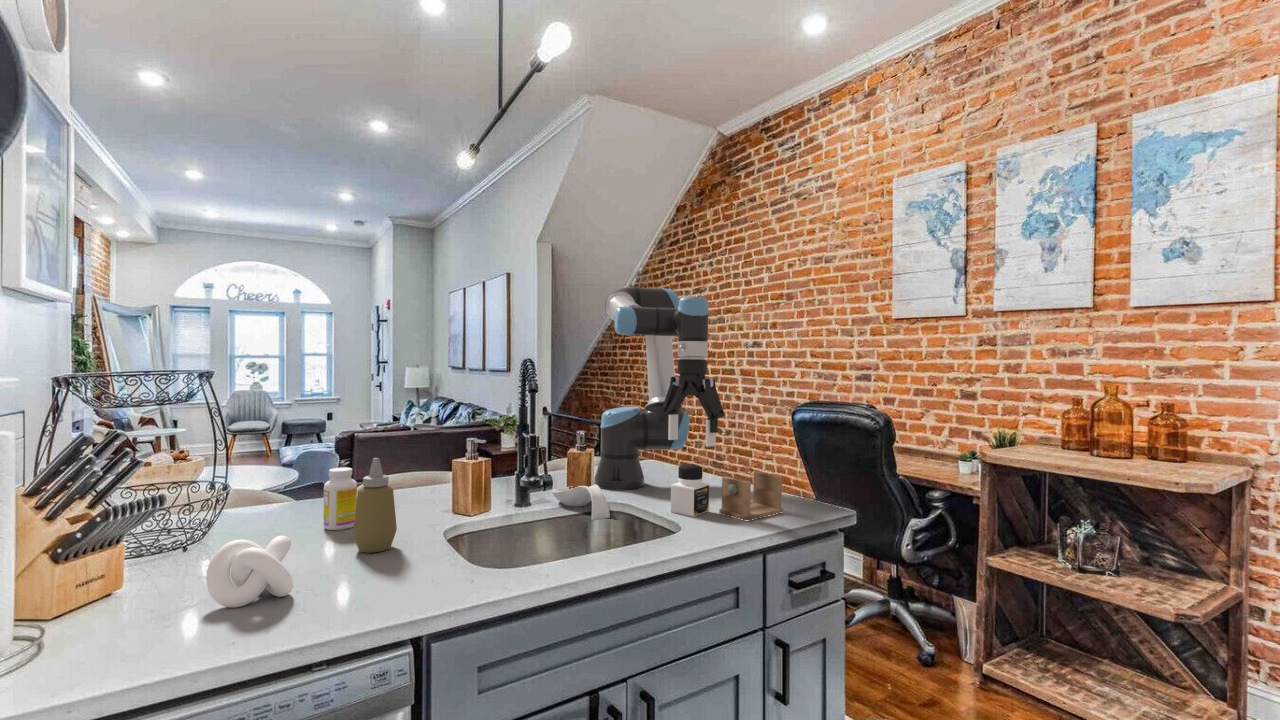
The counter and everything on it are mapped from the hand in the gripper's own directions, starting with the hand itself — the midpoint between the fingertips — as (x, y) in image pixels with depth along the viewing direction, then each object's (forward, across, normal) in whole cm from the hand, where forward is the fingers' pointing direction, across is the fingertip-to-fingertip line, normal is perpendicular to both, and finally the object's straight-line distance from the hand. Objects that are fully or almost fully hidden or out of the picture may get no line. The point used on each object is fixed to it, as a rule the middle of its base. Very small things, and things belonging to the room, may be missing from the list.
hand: (691, 442), depth 150 cm
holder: (+18, +10, +12) cm, 23 cm away
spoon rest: (+18, -19, -20) cm, 33 cm away
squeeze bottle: (+18, -16, -71) cm, 75 cm away
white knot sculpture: (+18, -3, -92) cm, 94 cm away
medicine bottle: (+18, 0, 0) cm, 18 cm away
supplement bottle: (+18, -36, -73) cm, 83 cm away
